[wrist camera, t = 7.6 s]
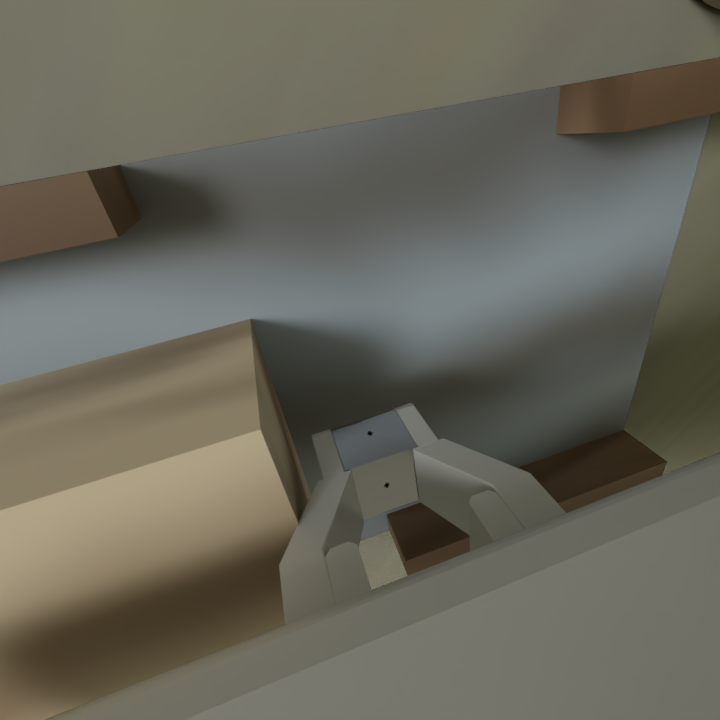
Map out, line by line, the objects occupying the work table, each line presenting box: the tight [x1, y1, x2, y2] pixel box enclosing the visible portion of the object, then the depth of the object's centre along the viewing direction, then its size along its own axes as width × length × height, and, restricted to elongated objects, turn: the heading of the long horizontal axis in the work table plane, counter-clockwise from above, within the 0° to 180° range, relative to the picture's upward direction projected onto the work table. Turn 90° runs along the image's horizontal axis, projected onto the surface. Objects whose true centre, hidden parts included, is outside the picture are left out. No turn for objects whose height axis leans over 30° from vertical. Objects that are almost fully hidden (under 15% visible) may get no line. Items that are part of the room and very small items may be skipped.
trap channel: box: [0, 57, 720, 576], centre depth 11 cm, size 14×24×3 cm, turn 99°
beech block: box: [0, 319, 311, 720], centre depth 9 cm, size 7×7×4 cm
